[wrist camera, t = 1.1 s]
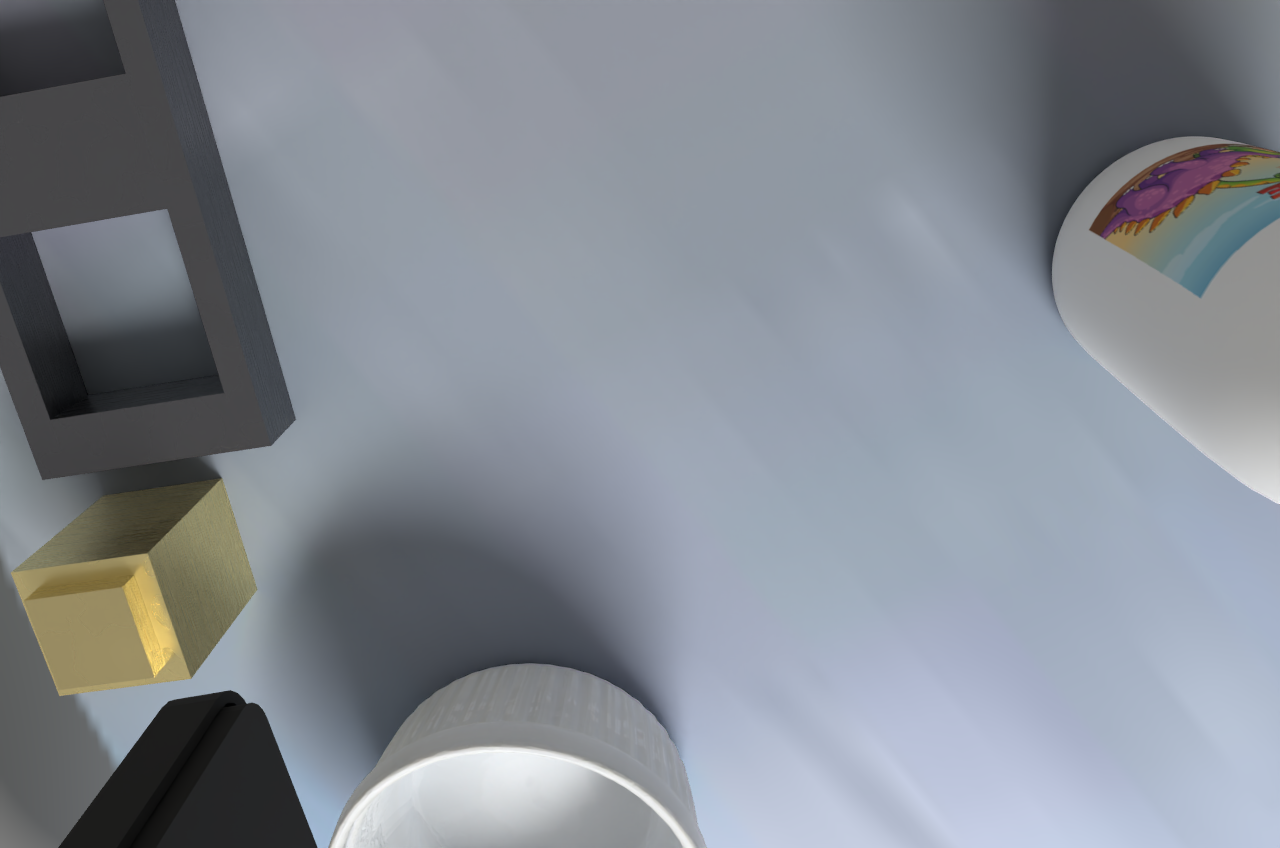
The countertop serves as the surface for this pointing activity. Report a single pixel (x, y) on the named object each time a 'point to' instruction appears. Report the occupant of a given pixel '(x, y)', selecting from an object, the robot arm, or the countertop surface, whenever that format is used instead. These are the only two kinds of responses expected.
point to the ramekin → (525, 770)
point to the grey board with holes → (113, 187)
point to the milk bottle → (1185, 292)
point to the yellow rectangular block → (137, 587)
